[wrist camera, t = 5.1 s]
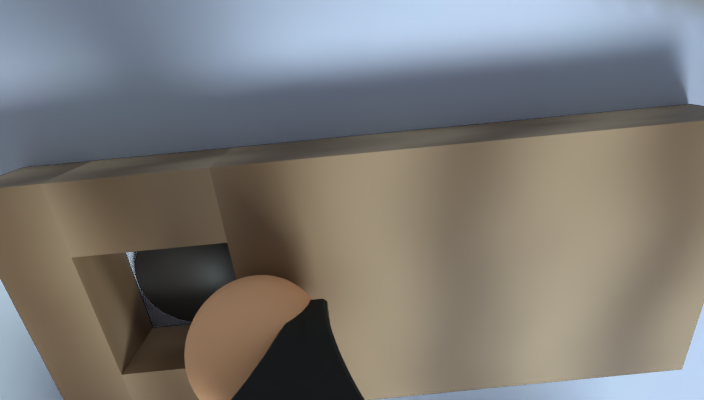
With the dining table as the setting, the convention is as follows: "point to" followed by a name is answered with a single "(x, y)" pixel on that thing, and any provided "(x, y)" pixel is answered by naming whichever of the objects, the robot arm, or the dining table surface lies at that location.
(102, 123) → the dining table surface
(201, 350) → the ball
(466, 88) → the dining table surface
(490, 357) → the deck
